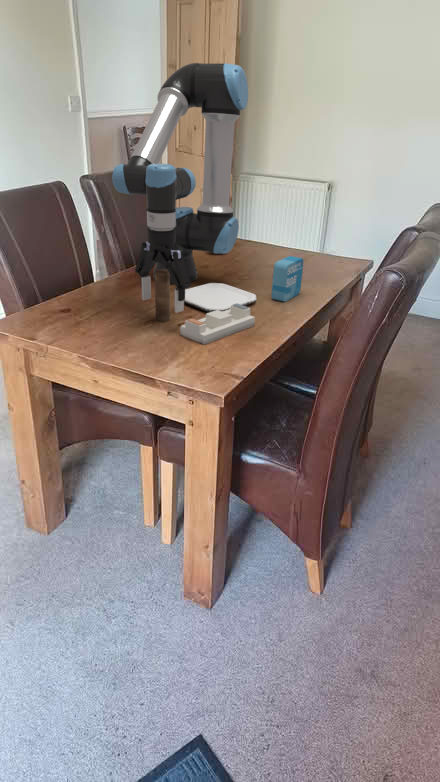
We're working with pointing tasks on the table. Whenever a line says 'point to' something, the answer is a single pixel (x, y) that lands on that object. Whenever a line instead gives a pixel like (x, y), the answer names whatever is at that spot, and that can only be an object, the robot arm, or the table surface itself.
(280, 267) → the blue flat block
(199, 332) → the socket block
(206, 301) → the plate
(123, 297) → the table surface
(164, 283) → the dowel
